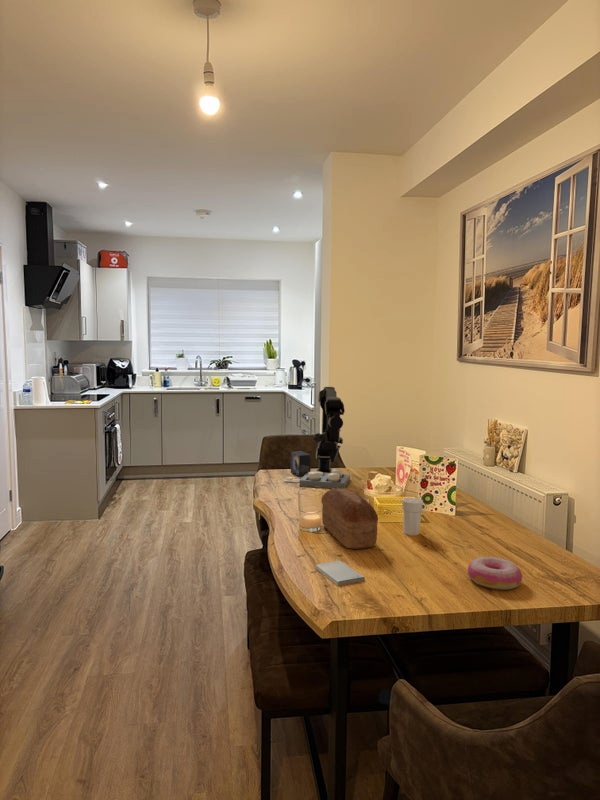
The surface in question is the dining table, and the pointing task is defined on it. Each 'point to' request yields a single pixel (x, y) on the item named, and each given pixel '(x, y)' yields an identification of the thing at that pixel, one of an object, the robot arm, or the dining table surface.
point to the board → (320, 481)
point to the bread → (349, 518)
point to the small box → (300, 463)
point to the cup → (412, 515)
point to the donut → (495, 573)
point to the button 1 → (313, 476)
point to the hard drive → (339, 573)
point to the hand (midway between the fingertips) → (332, 462)
